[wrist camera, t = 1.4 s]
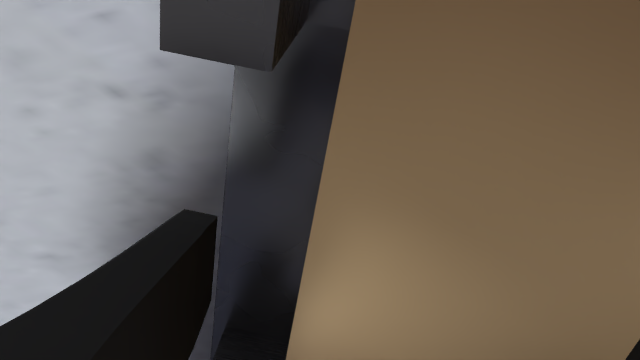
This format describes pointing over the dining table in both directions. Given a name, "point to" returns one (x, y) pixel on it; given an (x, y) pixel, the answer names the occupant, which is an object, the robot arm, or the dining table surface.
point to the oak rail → (479, 186)
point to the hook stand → (266, 151)
